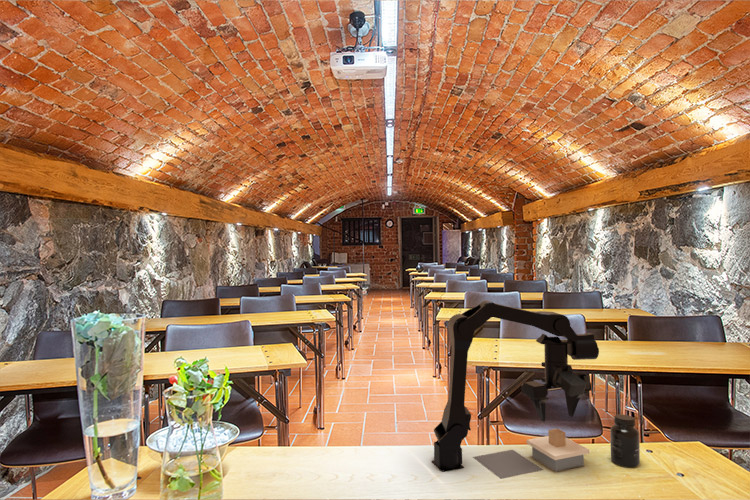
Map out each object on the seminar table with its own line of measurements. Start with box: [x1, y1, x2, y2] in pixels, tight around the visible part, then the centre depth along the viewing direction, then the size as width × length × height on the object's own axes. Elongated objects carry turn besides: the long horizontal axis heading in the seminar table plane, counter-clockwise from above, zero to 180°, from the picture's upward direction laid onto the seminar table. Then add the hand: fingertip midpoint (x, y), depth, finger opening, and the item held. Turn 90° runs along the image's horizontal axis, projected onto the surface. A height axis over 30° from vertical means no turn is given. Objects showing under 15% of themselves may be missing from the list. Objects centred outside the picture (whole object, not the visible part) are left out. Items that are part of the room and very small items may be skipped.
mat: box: [472, 449, 544, 479], centre depth 122 cm, size 13×13×1 cm
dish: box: [531, 446, 585, 473], centre depth 123 cm, size 9×9×4 cm
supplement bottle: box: [609, 413, 641, 468], centre depth 123 cm, size 7×7×12 cm
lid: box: [526, 428, 590, 460], centre depth 123 cm, size 11×11×4 cm
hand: (557, 418), depth 123 cm, fingers open, 9 cm apart
